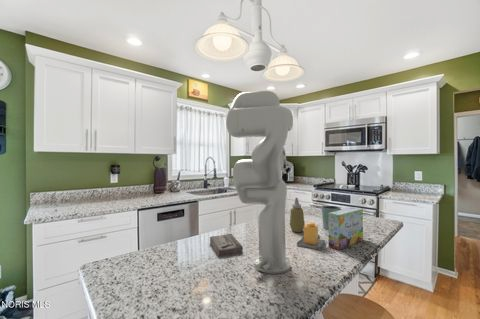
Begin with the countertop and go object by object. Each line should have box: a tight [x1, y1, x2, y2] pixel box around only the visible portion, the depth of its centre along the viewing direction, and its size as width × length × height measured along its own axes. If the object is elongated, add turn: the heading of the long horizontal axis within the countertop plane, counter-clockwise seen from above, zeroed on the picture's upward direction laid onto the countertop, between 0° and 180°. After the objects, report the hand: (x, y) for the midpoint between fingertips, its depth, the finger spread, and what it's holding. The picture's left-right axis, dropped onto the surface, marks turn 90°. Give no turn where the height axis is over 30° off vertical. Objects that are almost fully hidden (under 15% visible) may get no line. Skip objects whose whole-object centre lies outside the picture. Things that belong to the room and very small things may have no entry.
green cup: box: [320, 205, 342, 231], centre depth 128 cm, size 10×10×12 cm
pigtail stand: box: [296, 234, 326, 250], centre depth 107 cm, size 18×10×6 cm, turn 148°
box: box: [209, 233, 244, 257], centre depth 101 cm, size 11×17×3 cm, turn 19°
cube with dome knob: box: [303, 222, 319, 244], centre depth 104 cm, size 5×5×8 cm
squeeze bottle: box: [289, 197, 306, 233], centre depth 124 cm, size 8×8×18 cm
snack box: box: [328, 206, 364, 251], centre depth 104 cm, size 21×6×15 cm, turn 127°
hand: (274, 182), depth 106 cm, fingers open, 9 cm apart
